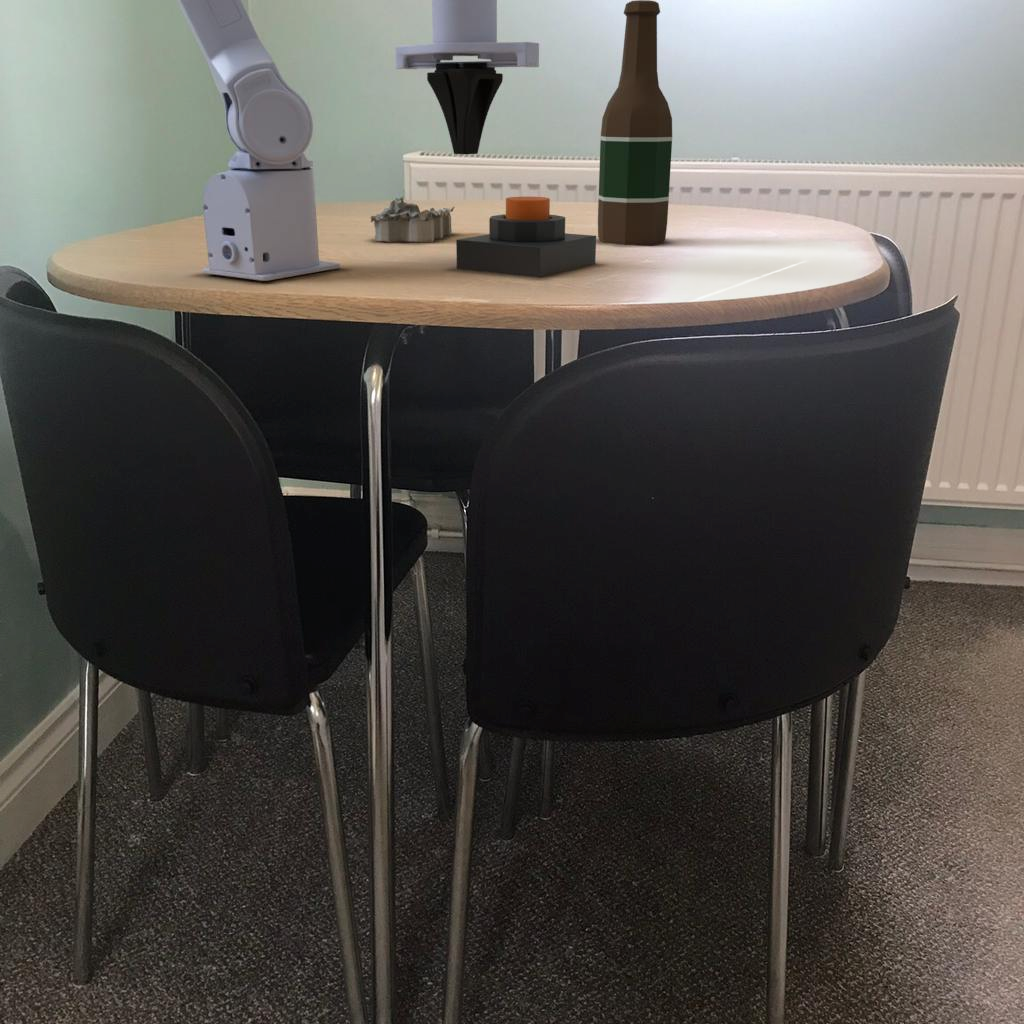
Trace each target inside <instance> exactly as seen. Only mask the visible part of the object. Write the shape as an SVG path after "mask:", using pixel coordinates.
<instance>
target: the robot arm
mask: <svg viewBox="0 0 1024 1024" xmlns="http://www.w3.org/2000/svg"><path fill="white" fill-rule="evenodd" d="M176 2H177V4H178V6H179V8H180V10H181V12H182V14H183V16H184V18H185V20H186V22H187V24H188V26H189V28H190V30H191V32H192V35H193V37H194V38H195V40H196V42H197V45H198V46H199V48H200V50H201V53H202V54H203V56H204V58H205V61H206V62H207V64H208V67H209V71H210V73H211V75H212V79H213V81H214V84H215V87H216V88H217V91H218V93H219V95H220V97H221V99H222V103H223V107H224V117H225V118H224V119H225V121H224V122H225V128H226V132H227V134H228V137H229V139H230V141H231V142H232V144H233V145H234V147H235V148H237V151H235V152H234V154H233V156H231V158H228V159H227V167H229V168H228V169H227V170H226V171H222V172H221V171H220V172H218V173H215V174H213V175H212V176H211V177H210V178H209V179H208V180H207V181H206V184H205V186H204V190H203V194H202V212H203V222H204V230H205V231H204V232H205V241H206V249H207V258H208V259H207V260H208V266H207V267H204V268H203V273H204V274H208V275H216V276H224V277H229V278H230V277H232V278H239V279H246V280H254V281H262V282H268V281H274V280H280V279H285V278H290V277H297V276H302V275H307V274H313V273H319V272H325V271H330V270H336V269H340V268H341V263H340V262H334V261H325V260H320V251H319V237H318V234H319V233H318V222H317V221H318V219H317V207H316V206H317V205H316V204H317V203H316V192H315V176H314V175H315V174H314V168H312V167H313V166H314V162H313V160H309V159H308V158H307V157H306V154H305V152H306V151H307V149H308V147H309V146H310V143H311V141H312V137H313V131H314V123H313V115H312V113H311V110H310V108H309V106H308V104H307V103H306V101H305V99H303V97H302V96H301V95H300V94H299V93H298V92H297V91H296V90H294V89H293V88H292V87H291V86H289V85H288V83H287V82H286V80H284V78H283V77H282V75H281V73H280V71H279V69H278V67H277V65H276V63H275V61H274V59H273V57H272V56H271V55H270V53H269V52H268V50H267V49H266V47H265V45H264V44H263V42H262V41H261V40H260V38H259V35H258V34H257V32H256V29H255V27H254V25H253V23H252V21H251V19H250V17H249V15H248V12H247V10H246V7H245V6H244V4H243V1H242V0H176ZM431 5H432V6H431V14H432V16H431V17H432V23H431V24H432V43H424V44H410V45H396V46H395V69H396V70H420V69H421V70H422V69H425V70H426V69H427V70H429V69H434V71H433V72H431V71H430V72H427V73H426V80H427V82H428V84H429V86H430V87H431V89H432V92H433V93H434V95H435V97H436V99H437V101H438V103H439V106H440V109H441V111H442V114H443V116H444V120H445V123H446V127H447V130H448V134H449V139H450V143H451V148H452V152H453V154H454V155H478V154H479V149H480V145H481V139H482V136H483V131H484V128H485V127H484V126H485V123H486V119H487V116H488V114H489V111H490V108H491V105H492V103H493V101H494V99H495V97H496V94H497V92H498V91H499V88H500V87H501V85H502V83H503V80H504V77H503V76H504V74H503V73H498V72H497V70H496V68H539V67H540V43H539V42H533V41H532V42H531V41H507V42H506V41H504V42H503V41H499V42H498V0H431ZM454 57H477V59H478V61H453V60H454ZM479 60H480V61H479ZM482 60H483V61H482ZM484 60H485V61H484Z"/></svg>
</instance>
